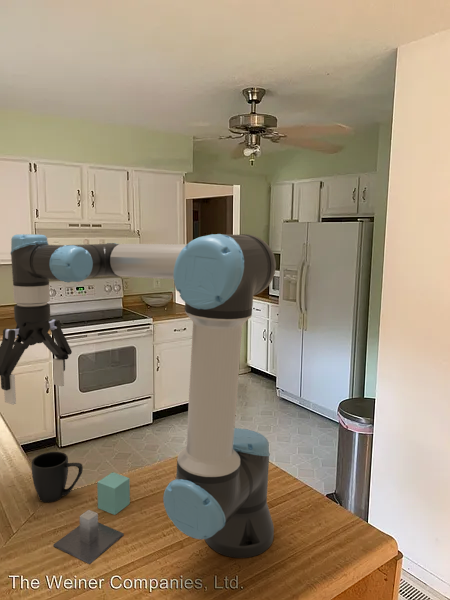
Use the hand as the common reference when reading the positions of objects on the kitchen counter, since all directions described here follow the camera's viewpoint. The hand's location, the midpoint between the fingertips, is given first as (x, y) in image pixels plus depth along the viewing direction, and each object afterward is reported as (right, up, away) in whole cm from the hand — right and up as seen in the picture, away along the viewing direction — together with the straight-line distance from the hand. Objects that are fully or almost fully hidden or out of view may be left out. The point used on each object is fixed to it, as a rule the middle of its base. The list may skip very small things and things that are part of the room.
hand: (35, 393), depth 109 cm
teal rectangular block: (+18, -27, +2) cm, 32 cm away
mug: (+3, -26, +5) cm, 27 cm away
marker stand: (+15, -29, -10) cm, 34 cm away
